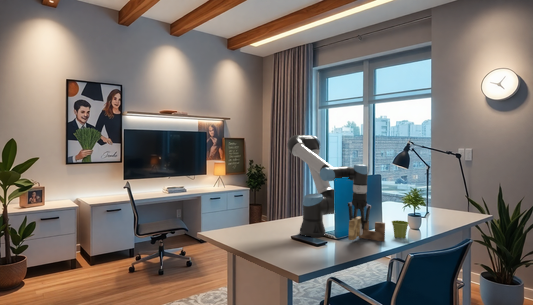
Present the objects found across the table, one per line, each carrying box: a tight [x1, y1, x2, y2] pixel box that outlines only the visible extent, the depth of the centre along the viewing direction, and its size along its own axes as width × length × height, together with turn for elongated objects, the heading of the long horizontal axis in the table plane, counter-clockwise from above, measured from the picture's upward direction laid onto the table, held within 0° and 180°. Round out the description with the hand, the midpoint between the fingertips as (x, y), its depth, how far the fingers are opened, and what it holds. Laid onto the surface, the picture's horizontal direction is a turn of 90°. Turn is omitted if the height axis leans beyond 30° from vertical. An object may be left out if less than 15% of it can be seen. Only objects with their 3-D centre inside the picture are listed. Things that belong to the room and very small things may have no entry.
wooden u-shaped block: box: [358, 220, 386, 242], centre depth 200 cm, size 14×2×10 cm, turn 56°
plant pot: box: [391, 220, 410, 239], centre depth 205 cm, size 9×9×9 cm
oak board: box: [347, 215, 361, 241], centre depth 195 cm, size 14×3×10 cm, turn 146°
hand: (358, 234), depth 199 cm, fingers closed on oak board, 3 cm apart
